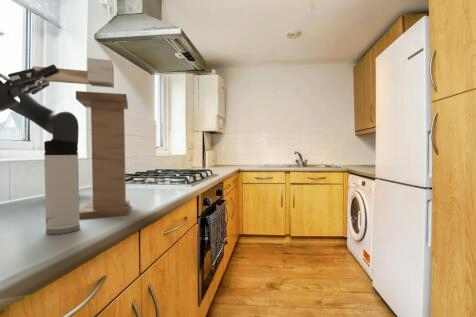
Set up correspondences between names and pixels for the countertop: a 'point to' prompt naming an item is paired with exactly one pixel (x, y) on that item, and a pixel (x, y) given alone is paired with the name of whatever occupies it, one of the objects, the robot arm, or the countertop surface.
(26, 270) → the countertop surface
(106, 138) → the stand
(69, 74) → the mallet
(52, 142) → the travel mug
